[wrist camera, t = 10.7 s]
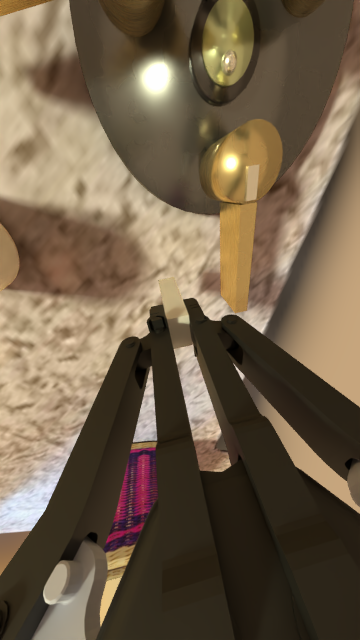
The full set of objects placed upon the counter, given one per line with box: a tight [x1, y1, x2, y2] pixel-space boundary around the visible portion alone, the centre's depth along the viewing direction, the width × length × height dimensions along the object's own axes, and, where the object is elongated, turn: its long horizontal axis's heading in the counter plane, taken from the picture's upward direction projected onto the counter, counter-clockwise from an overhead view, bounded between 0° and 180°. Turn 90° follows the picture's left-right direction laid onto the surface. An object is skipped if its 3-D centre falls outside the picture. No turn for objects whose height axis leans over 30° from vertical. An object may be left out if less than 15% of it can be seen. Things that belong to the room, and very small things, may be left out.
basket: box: [103, 442, 158, 581], centre depth 37 cm, size 31×20×40 cm, turn 169°
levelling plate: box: [69, 0, 354, 214], centre depth 12 cm, size 18×18×4 cm
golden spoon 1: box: [199, 119, 283, 313], centre depth 16 cm, size 13×4×5 cm, turn 8°
